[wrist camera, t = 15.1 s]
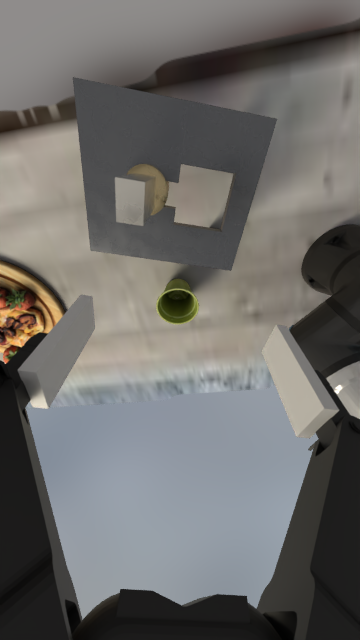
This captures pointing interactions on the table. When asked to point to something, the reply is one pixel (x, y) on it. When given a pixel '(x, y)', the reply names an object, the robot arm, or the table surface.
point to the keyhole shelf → (166, 168)
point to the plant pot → (177, 303)
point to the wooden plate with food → (24, 308)
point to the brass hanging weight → (140, 194)
